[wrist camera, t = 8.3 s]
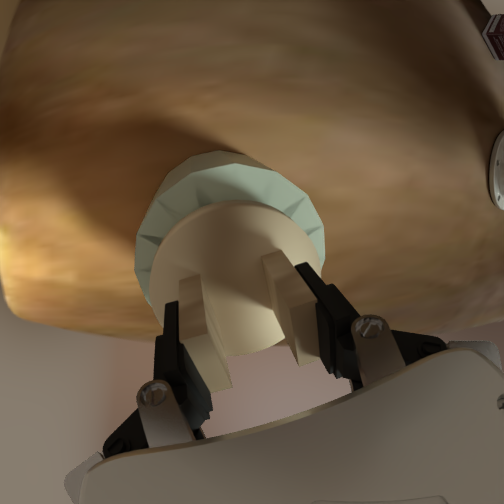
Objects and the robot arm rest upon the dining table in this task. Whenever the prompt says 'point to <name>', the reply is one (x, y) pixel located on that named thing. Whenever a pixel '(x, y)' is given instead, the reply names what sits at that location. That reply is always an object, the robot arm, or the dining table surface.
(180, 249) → the stopper
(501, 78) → the dining table surface
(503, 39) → the supplement box
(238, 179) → the canister
